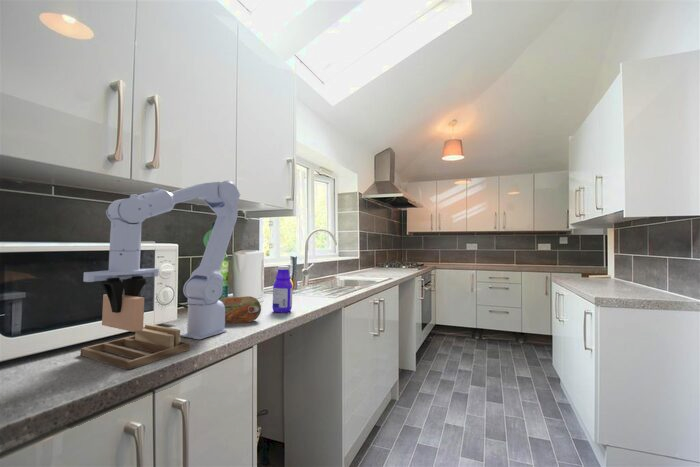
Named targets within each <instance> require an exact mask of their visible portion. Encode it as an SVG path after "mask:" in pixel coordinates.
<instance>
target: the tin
mask: <svg viewBox="0 0 700 467" xmlns="http://www.w3.org/2000/svg"><path fill="white" fill-rule="evenodd" d="M218 300H219V301H221V302H222V303H223V304H224V306H225V325H229V324H230V325H231V324H246V323H247V324H248V323H252V322H254V321H255V320H257V319H258V317H259V316H260V315H261V310H262V306H261V302H260V301H259V300H258V299H257V298H256V297H254V296H249V295H248V296H229V297H228V296H227V297H226V296H225V297H220V298H219V299H218Z"/></svg>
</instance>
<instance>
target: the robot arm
mask: <svg viewBox="0 0 700 467" xmlns="http://www.w3.org/2000/svg"><path fill="white" fill-rule="evenodd" d="M240 197H241V194H240V191H239V189H238V187H237V186H236V184H235V183H234V182H233V181H232V180H231V181H230V180H224V181H223V180H222V181H214V182H213V181H212V182H203V183H196V184H193V185H190V186H187V187H184V188H180V189H178V190H177V189H176V190H173V191H171V192H169V191H168V190H167V189H164V188H163V189H161V188H160V189H159V188H158V187H155V188H150V191H149V192H145V193H141V194H138V193H133V194H130V195H129V197H128V198H121V199H115V200H114V201H112V202H111V203H110V204H109V205H108V208H107V209H106V210H105V214H106V217H107V218H108V219H109V221H110V233H109V254H108V270H99V271H98V270H97V271H86V272H85V271H84V272H83V280H82V281H83V282H84V283H94V282H100V286H101V287H102V288H103V290H104V292H105V294H107V296H108V298H109V301H110V305H111V309H112V312H115V313H120V312H121V307H122V295H128V296H136V297H139V294H140V293H141V291H142V289H143V287H144V286H145V284H146V283H147V278H149V277H151V278H152V277H159V268H157V267H156V268H154V267H152V268H141V251H142V250H141V249H142V248H141V245H142V226H143V225H142V224H143V222H144V221H145V220H146V219H149V218H152V217H156V216H159V215H162V214H165V213H169V212H171V211H172V210H173V209H174V207H175V205H176V204H180V203H184V202H187V201H191V200H196V199H198V200H203V201H204V202H205V204H206V205H207V206H209V208H210V210H212V211H213V213H215V215H216V219H215V222H214V224H213V227H212V231H211V233H210V236H209V239H208V242H207V244H206V247H205V251H204V252H203V256H202V258H201V262H200V264H199V266H198V267H197V268H196V269H194V270H193V271H192V272H191V275H190V276H189V278H188V279H187V280H186V282H185V283H184V285H183V289H182V291H183V296H185V298H187V303H188V304H187V325H186V328H187V329H186V331H185V332H180V337H184V338H189V339H193V340H202V339H205V338H210V337H213V336H215V335H219V334H222V333H224V332H227V330H228V329H227V328H226V324H225V306H224V304H223V303H222V302H221V301H219V299H221V298H222V297H221V296H222V294H223V291H224V290H223V282H224V279H225V277H224V276H223V274H222V273H221V267H222V264H223V262H224V259H225V256H226V253H227V251H228V250H227V249H228V246H229V244H230V240H231V237H232V235H233V232H234V229H235V226H236V223H237V220H238V215H239V214H238V212H239V211H238V202H239V201H240V200H239V199H240Z"/></svg>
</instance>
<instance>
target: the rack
mask: <svg viewBox="0 0 700 467" xmlns="http://www.w3.org/2000/svg"><path fill="white" fill-rule="evenodd" d="M124 346H125V347H124ZM128 347H130V348H128ZM136 349H139V350H136ZM140 350H142V351H140ZM190 350H191V343H190V342H187V341H182V340H180V345H179V346H175V347H172V348H168V347H163V346H159V345H155V344H151V343H146V342H142V341H138V340H135V334H134V335H131V336H127V337H126V336H125V337H121V338H117V339H113V340H110V341H106V342H102V343H97V344H94V345H89V346H84V347H81V348H80V354H79V355H80V356H82V357H86V358H89V359H92V360H96V361H98V362H102V363H104V364H108V365H111V366H115V367H116V368H117V367H118V368H121V369H124V370H126V371H130V370H132V369H133V370H134V369H136V368H139V367H142V366H144V365H148V364H151V363H154V362H157V361H160V360H162V359H165V358H166V359H167V358H168V357H172V356H174V355H177V354H180V353H183V352H186V351H190ZM103 351H105V352H103ZM144 351H145V352H144ZM106 352H108V353H106ZM147 352H148V353H147ZM149 352H150V353H149ZM109 353H112V354H109ZM114 354H115V355H114ZM120 356H122V357H120ZM124 357H126V358H124ZM127 358H129V359H127Z"/></svg>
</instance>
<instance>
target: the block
mask: <svg viewBox="0 0 700 467" xmlns="http://www.w3.org/2000/svg"><path fill="white" fill-rule="evenodd" d="M102 297H103V298H102V312H101V313H102V317H101V326H105V327H108V328H113V329H118V330H122V331H127V332H132V333H134V332H135V331H140V330H143V328H144V318H145V315H144V314H145V297H143V296H138V297H136V296H128V295H125V294H122V307H121V312H120V313H115V312H112V309H111V305H110V301H109V298H108V296H107V294H106V293H105V294H103V296H102Z"/></svg>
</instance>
